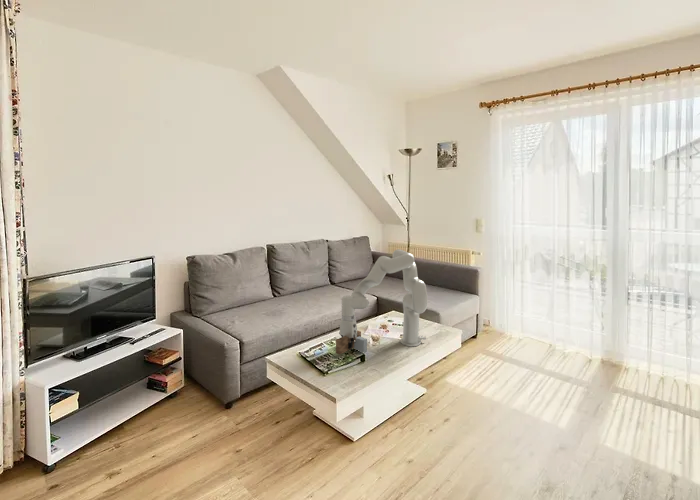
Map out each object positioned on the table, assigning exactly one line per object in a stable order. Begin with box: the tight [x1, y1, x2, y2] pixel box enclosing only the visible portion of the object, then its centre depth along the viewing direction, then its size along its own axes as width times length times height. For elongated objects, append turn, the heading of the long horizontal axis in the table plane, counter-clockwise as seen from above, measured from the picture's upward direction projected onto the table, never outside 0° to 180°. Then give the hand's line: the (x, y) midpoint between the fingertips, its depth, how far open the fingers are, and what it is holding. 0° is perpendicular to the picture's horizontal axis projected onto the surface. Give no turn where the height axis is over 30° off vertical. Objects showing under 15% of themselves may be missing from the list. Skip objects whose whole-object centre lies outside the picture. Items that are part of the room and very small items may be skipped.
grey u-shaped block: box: [354, 336, 368, 354], centre depth 232 cm, size 16×3×8 cm, turn 50°
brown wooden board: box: [335, 329, 362, 355], centre depth 228 cm, size 19×3×8 cm, turn 139°
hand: (347, 346), depth 228 cm, fingers closed on brown wooden board, 3 cm apart
